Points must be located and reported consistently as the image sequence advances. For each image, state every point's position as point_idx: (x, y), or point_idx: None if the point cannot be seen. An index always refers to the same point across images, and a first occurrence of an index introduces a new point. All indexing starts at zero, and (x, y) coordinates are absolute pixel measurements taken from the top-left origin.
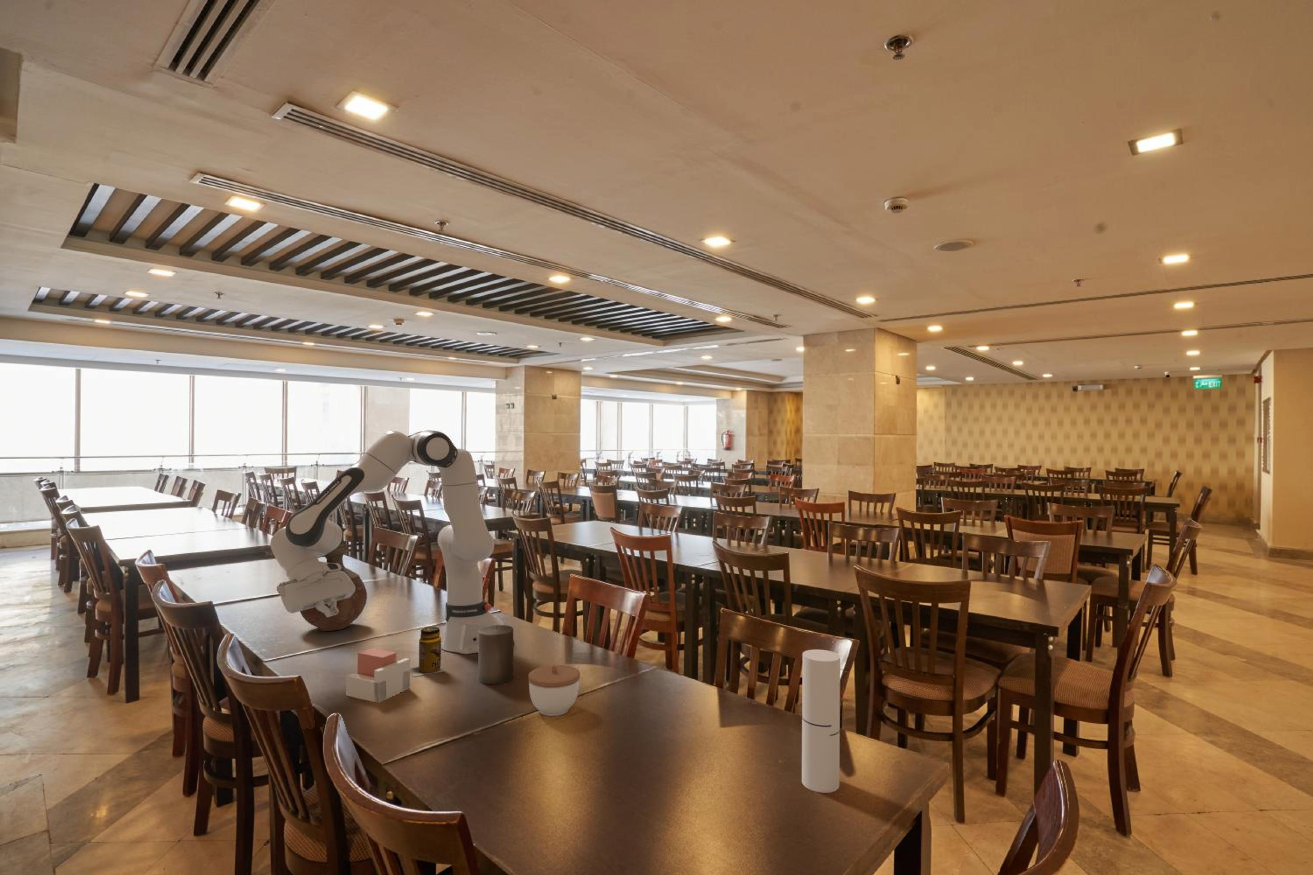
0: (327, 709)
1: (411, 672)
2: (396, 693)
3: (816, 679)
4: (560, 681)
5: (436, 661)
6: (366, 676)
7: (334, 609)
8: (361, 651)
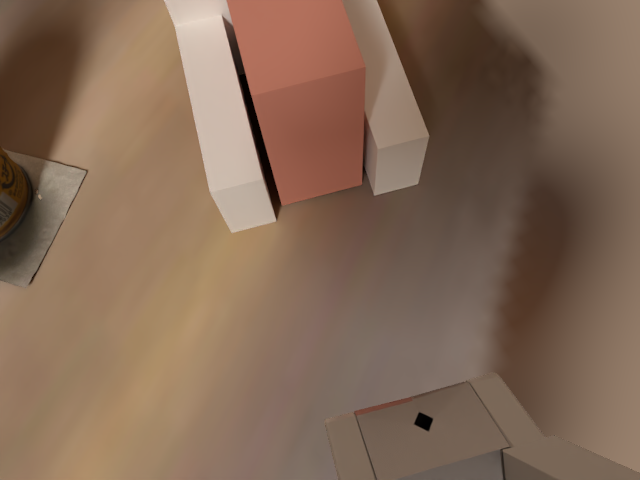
0: (537, 96)
1: (55, 232)
2: None
3: None
4: None
5: None
6: None
7: (397, 434)
8: (335, 75)
